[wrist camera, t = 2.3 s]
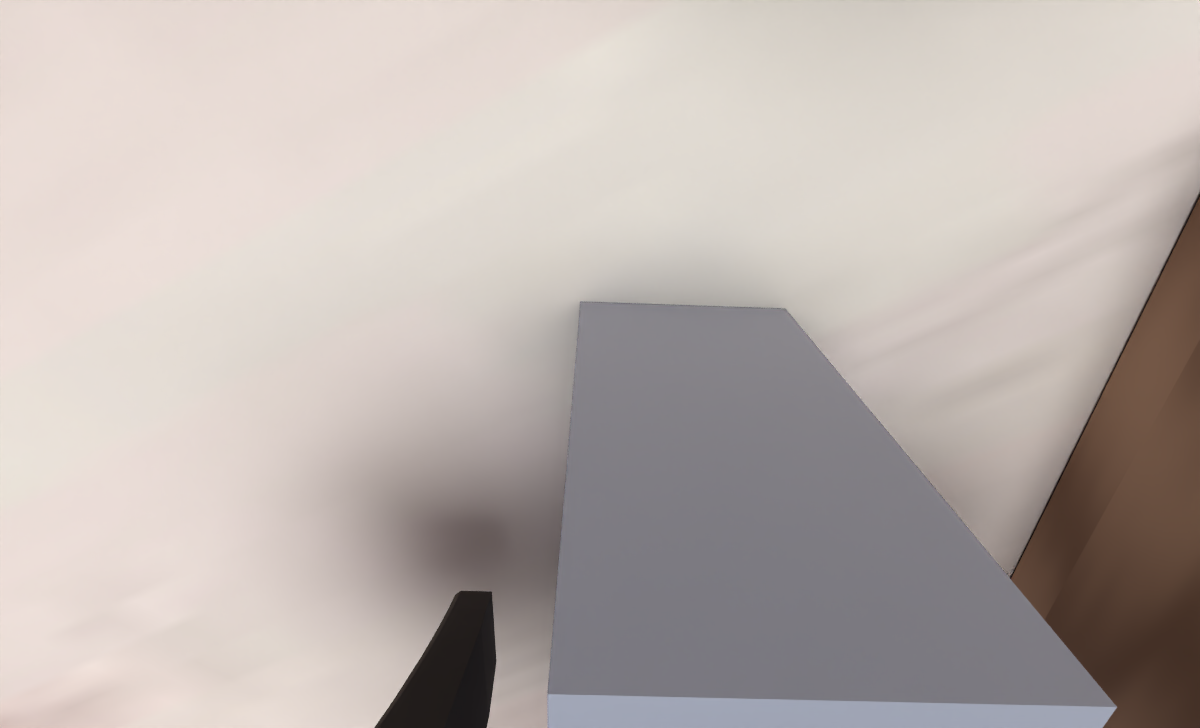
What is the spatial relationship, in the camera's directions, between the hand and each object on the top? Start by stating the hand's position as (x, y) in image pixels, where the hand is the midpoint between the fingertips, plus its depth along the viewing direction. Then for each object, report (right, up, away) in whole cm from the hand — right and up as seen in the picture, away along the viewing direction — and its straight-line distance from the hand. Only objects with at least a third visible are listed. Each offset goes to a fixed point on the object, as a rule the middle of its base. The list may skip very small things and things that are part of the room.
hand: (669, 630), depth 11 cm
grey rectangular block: (0, +1, +2) cm, 3 cm away
